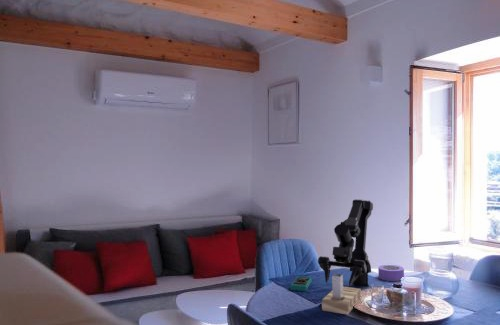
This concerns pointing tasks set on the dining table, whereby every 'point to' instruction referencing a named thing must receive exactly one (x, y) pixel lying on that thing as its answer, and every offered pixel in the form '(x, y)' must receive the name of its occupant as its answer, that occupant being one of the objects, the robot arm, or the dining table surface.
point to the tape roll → (390, 272)
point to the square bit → (337, 286)
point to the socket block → (338, 305)
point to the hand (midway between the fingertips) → (337, 283)
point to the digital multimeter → (300, 283)
